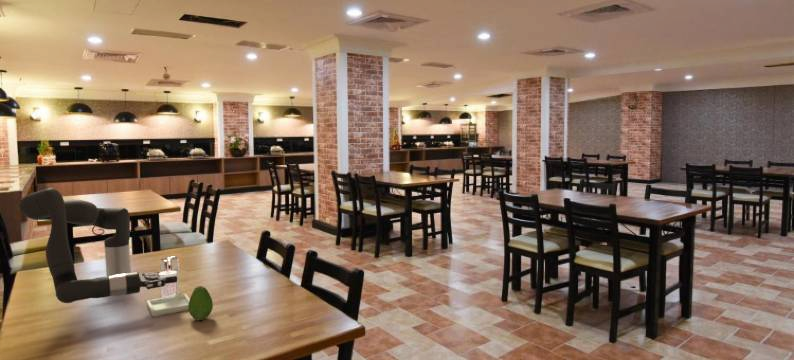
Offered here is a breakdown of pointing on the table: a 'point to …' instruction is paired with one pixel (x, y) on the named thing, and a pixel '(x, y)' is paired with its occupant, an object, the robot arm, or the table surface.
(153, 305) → the tray
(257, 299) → the table surface
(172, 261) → the metal tumbler
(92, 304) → the table surface
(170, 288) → the beverage cup
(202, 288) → the avocado
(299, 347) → the table surface
